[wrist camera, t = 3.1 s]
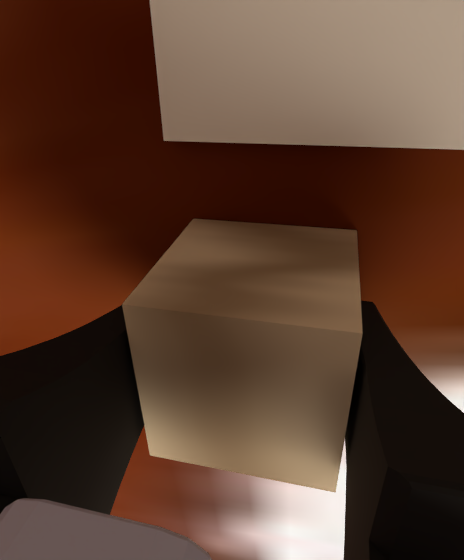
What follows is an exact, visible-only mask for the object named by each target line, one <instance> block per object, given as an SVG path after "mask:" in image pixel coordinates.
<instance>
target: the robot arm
mask: <svg viewBox="0 0 464 560" xmlns="http://www.w3.org/2000/svg"><path fill="white" fill-rule="evenodd" d="M361 313H362V332H363V334H362V340H361V346H360V351H359V357H358V363H357V369H356V375H355V381H354V386H353V392H352V398H351V404H350V410H349V416H348V422H347V427H346V433H345V444H346V464H347V473H346V512H345V543H344V560H464V413H463V412H462V411H461V410H459V409H458V408H457V407H456V406H455V405H454V404H452V403H451V402H450V401H449V400H448V399H447V398H446V397H445V396H444V395H443V394H442V393H441V392H440V391H439V390H438V389H437V388H436V387H435V386H434V385H433V384H432V383H431V382H430V381H429V380H428V379H427V378H426V377H425V376H424V375H423V373H422V372H421V371H420V370H419V369H418V368H417V366H416V365H415V364H414V363H413V361H412V360H411V359H410V358H409V356H408V355H407V354H406V352H405V351H404V350H403V348H402V347H401V346H400V344H399V343H398V341H397V340H396V338H395V337H394V336H393V334H392V333H391V331H390V330H389V328H388V326H387V325H386V323H385V322H384V320H383V318H382V316H381V315H380V313H379V311H378V309H377V307H376V306H375V304H374V303H373V302H368V301H361ZM143 427H144V420H143V415H142V409H141V404H140V399H139V393H138V388H137V382H136V377H135V372H134V366H133V361H132V356H131V350H130V345H129V340H128V334H127V329H126V323H125V318H124V313H123V307H122V305H121V306H120V307H118V308H116V309H114V310H112V311H111V312H109V313H107V314H105V315H103V316H101V317H99V318H98V319H96V320H94V321H92V322H90V323H88V324H86V325H84V326H82V327H80V328H77V329H75V330H73V331H71V332H68V333H66V334H64V335H61V336H59V337H56V338H54V339H51V340H48V341H45V342H43V343H40V344H37V345H34V346H31V347H28V348H26V349H23V350H20V351H16V352H13V353H9V354H6V355H3V356H0V560H212V559H211V557H210V555H209V554H208V552H206V551H205V550H204V549H202V548H201V547H200V546H198V545H197V544H196V543H194V542H193V541H192V540H190V539H189V538H188V537H185V536H183V535H180V534H178V533H175V532H172V531H170V530H167V529H165V528H162V527H158V526H154V525H150V524H146V523H142V522H137V521H133V520H129V519H125V518H121V517H116V516H112V515H110V512H111V509H112V506H113V504H114V501H115V498H116V495H117V492H118V489H119V487H120V484H121V481H122V479H123V476H124V474H125V471H126V468H127V466H128V463H129V460H130V458H131V455H132V453H133V450H134V448H135V446H136V443H137V441H138V438H139V436H140V433H141V431H142V429H143Z"/></svg>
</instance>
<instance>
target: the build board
mask: <svg viewBox="0 0 464 560" xmlns="http://www.w3.org/2000/svg"><path fill="white" fill-rule="evenodd" d="M150 10H151V20H152V30H153V40H154V49H155V59H156V69H157V79H158V89H159V99H160V109H161V119H162V128H163V138H164V141H186V142H220V143H254V144H288V145H322V146H356V147H390V148H424V149H458V150H464V0H150Z"/></svg>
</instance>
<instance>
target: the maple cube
mask: <svg viewBox="0 0 464 560" xmlns="http://www.w3.org/2000/svg"><path fill="white" fill-rule="evenodd" d="M122 307H123V313H124V318H125V323H126V329H127V334H128V340H129V345H130V350H131V356H132V361H133V366H134V372H135V377H136V382H137V388H138V393H139V399H140V404H141V409H142V415H143V420H144V425H145V431H146V436H147V442H148V447H149V452H150V455H152V456H157V457H162V458H166V459H171V460H176V461H181V462H186V463H191V464H196V465H201V466H206V467H211V468H216V469H221V470H226V471H231V472H236V473H241V474H246V475H251V476H256V477H261V478H266V479H271V480H276V481H281V482H286V483H291V484H296V485H301V486H306V487H311V488H316V489H321V490H326V491H331V492H336V486H337V480H338V474H339V468H340V462H341V457H342V451H343V445H344V439H345V433H346V427H347V422H348V416H349V410H350V404H351V398H352V392H353V386H354V381H355V375H356V369H357V363H358V357H359V351H360V346H361V340H362V334H363V332H362V313H361V295H360V277H359V258H358V240H357V230H349V229H334V228H320V227H306V226H292V225H278V224H263V223H249V222H235V221H221V220H206V219H193V220H192V221H191V222H190V223H189V225H188V226H187V227H186V228H185V229H184V231H183V232H182V233H181V234H180V235H179V237H178V238H177V239H176V240H175V241H174V243H173V244H172V245H171V246H170V247H169V249H168V250H167V251H166V252H165V253H164V255H163V256H162V257H161V258H160V259H159V261H158V262H157V263H156V264H155V265H154V267H153V268H152V269H151V270H150V271H149V273H148V274H147V275H146V276H145V277H144V279H143V280H142V281H141V282H140V283H139V285H138V286H137V287H136V288H135V289H134V291H133V292H132V293H131V294H130V295H129V297H128V298H127V299H126V300H125V301H124V303H123V304H122Z"/></svg>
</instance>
